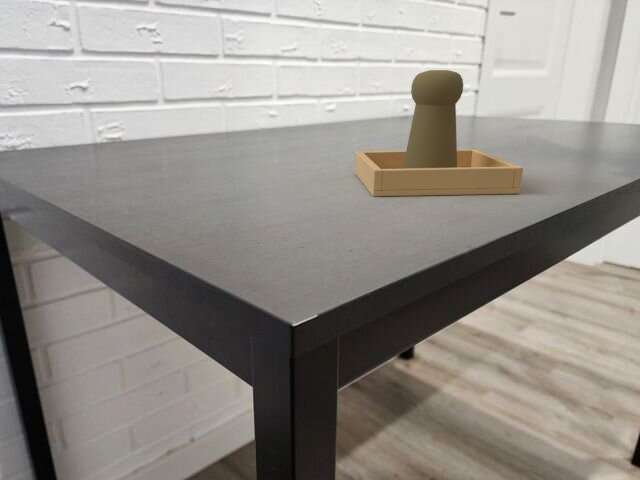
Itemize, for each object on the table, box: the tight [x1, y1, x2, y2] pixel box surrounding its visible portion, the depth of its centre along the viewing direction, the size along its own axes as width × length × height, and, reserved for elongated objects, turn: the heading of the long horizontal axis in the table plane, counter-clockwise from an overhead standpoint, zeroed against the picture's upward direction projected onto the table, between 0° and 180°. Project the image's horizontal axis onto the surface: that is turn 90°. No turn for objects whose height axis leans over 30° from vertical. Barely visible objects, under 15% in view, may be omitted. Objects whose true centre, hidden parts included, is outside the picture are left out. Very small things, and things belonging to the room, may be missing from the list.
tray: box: [354, 148, 524, 197], centre depth 56 cm, size 15×13×3 cm
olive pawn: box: [403, 69, 464, 169], centre depth 55 cm, size 6×6×11 cm
